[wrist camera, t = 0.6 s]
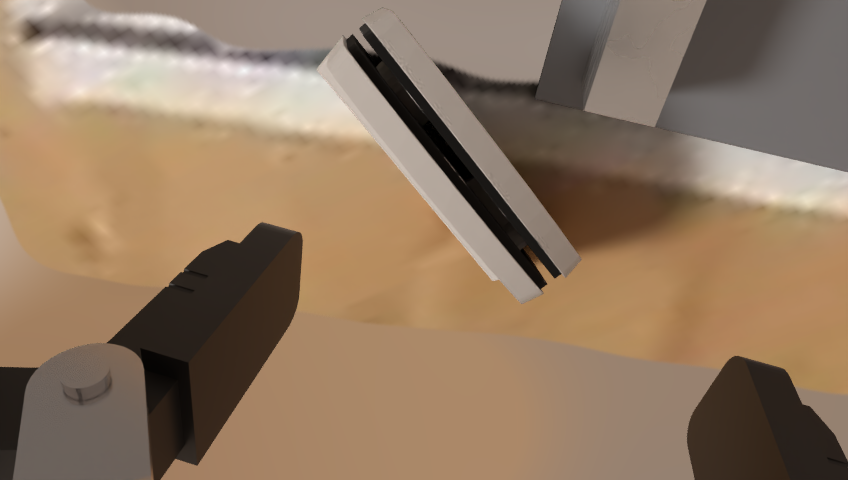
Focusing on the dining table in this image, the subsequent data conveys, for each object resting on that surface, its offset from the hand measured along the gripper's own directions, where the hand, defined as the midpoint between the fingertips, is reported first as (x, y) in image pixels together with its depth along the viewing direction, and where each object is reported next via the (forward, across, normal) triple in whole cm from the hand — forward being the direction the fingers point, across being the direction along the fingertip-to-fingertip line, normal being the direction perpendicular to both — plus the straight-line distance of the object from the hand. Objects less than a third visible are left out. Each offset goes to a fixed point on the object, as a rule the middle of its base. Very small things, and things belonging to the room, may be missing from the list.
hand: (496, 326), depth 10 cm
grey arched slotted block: (+22, +3, +6) cm, 23 cm away
